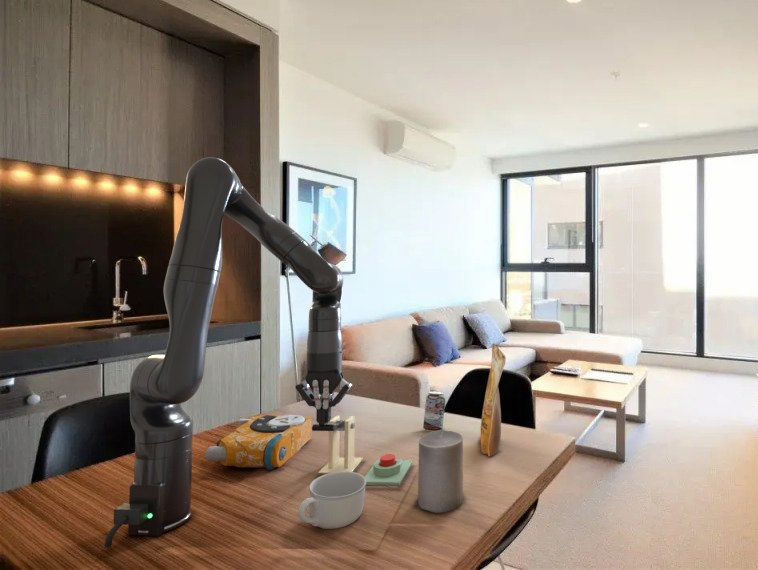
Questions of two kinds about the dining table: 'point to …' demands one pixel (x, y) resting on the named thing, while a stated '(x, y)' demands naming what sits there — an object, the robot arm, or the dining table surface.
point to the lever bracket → (349, 459)
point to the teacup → (334, 500)
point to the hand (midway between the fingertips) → (323, 424)
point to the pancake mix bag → (492, 406)
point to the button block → (388, 473)
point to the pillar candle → (440, 471)
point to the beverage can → (434, 411)
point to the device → (262, 441)
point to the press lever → (330, 426)
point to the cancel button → (387, 460)
